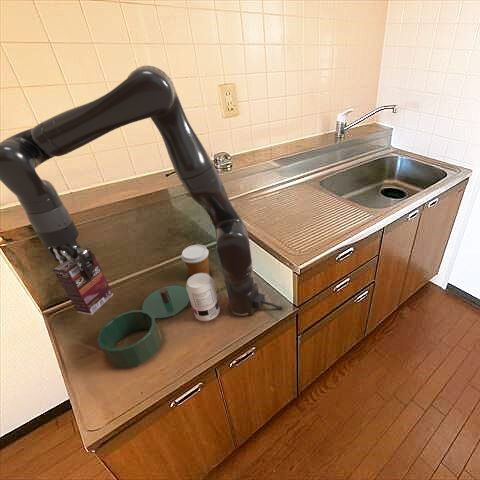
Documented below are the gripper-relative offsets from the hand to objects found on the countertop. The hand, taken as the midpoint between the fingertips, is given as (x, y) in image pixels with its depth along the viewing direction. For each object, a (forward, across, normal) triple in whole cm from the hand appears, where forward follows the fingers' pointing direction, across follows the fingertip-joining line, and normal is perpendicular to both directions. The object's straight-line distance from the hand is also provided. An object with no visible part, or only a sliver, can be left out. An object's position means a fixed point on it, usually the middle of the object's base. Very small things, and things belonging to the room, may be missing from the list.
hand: (81, 275), depth 86 cm
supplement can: (+24, +23, +18) cm, 38 cm away
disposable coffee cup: (+24, +9, +33) cm, 42 cm away
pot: (+24, +10, -1) cm, 26 cm away
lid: (+24, +6, +17) cm, 30 cm away
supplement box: (+11, 0, 0) cm, 11 cm away
